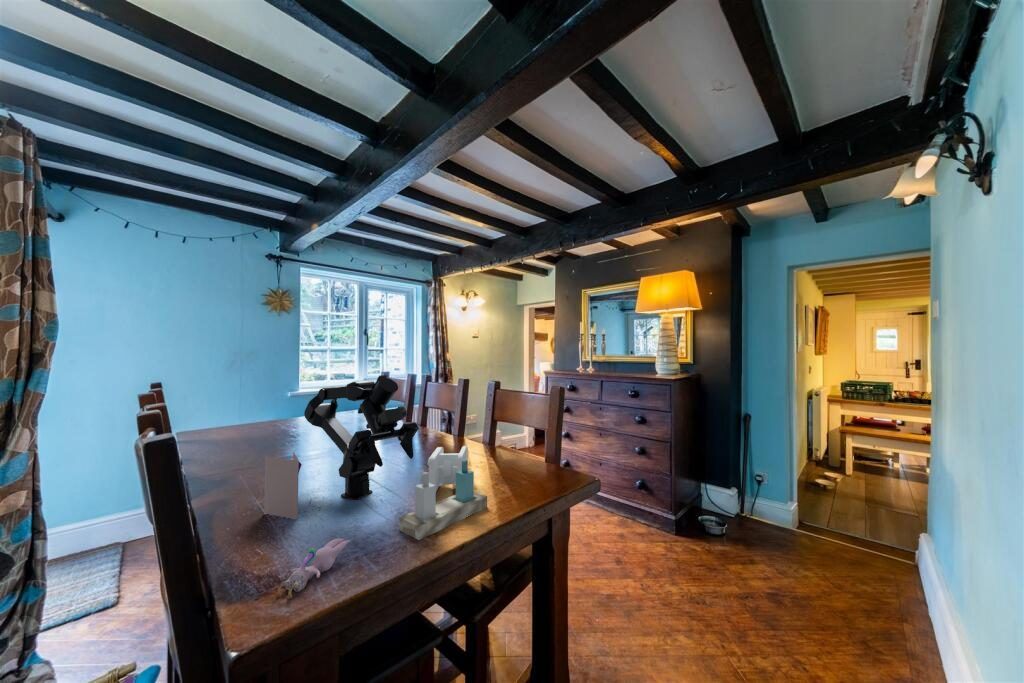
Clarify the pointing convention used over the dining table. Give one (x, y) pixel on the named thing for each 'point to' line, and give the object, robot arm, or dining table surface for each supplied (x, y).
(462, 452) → the cable organizer
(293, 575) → the pink horned figurine
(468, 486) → the teal plug
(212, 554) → the dining table surface
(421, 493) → the grey plug
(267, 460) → the greeting card
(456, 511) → the slot rack
